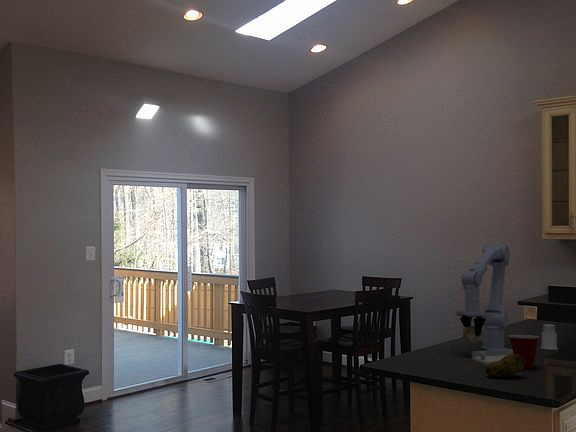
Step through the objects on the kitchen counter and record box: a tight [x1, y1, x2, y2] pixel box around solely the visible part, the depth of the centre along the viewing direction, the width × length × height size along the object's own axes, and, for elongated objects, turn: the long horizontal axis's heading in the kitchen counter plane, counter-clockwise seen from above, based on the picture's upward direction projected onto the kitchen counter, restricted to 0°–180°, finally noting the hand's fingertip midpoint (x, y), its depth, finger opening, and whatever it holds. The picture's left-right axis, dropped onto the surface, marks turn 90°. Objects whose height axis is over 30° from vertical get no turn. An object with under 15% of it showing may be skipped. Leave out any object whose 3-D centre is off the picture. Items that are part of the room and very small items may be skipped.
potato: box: [485, 354, 526, 378], centre depth 218 cm, size 8×13×8 cm, turn 68°
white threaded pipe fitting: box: [540, 323, 559, 350], centre depth 268 cm, size 8×7×10 cm
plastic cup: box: [507, 334, 541, 371], centre depth 232 cm, size 11×11×12 cm
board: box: [471, 348, 513, 366], centre depth 246 cm, size 11×18×4 cm, turn 102°
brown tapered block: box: [462, 325, 483, 344], centre depth 254 cm, size 4×8×6 cm, turn 130°
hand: (473, 335), depth 254 cm, fingers closed on brown tapered block, 4 cm apart
